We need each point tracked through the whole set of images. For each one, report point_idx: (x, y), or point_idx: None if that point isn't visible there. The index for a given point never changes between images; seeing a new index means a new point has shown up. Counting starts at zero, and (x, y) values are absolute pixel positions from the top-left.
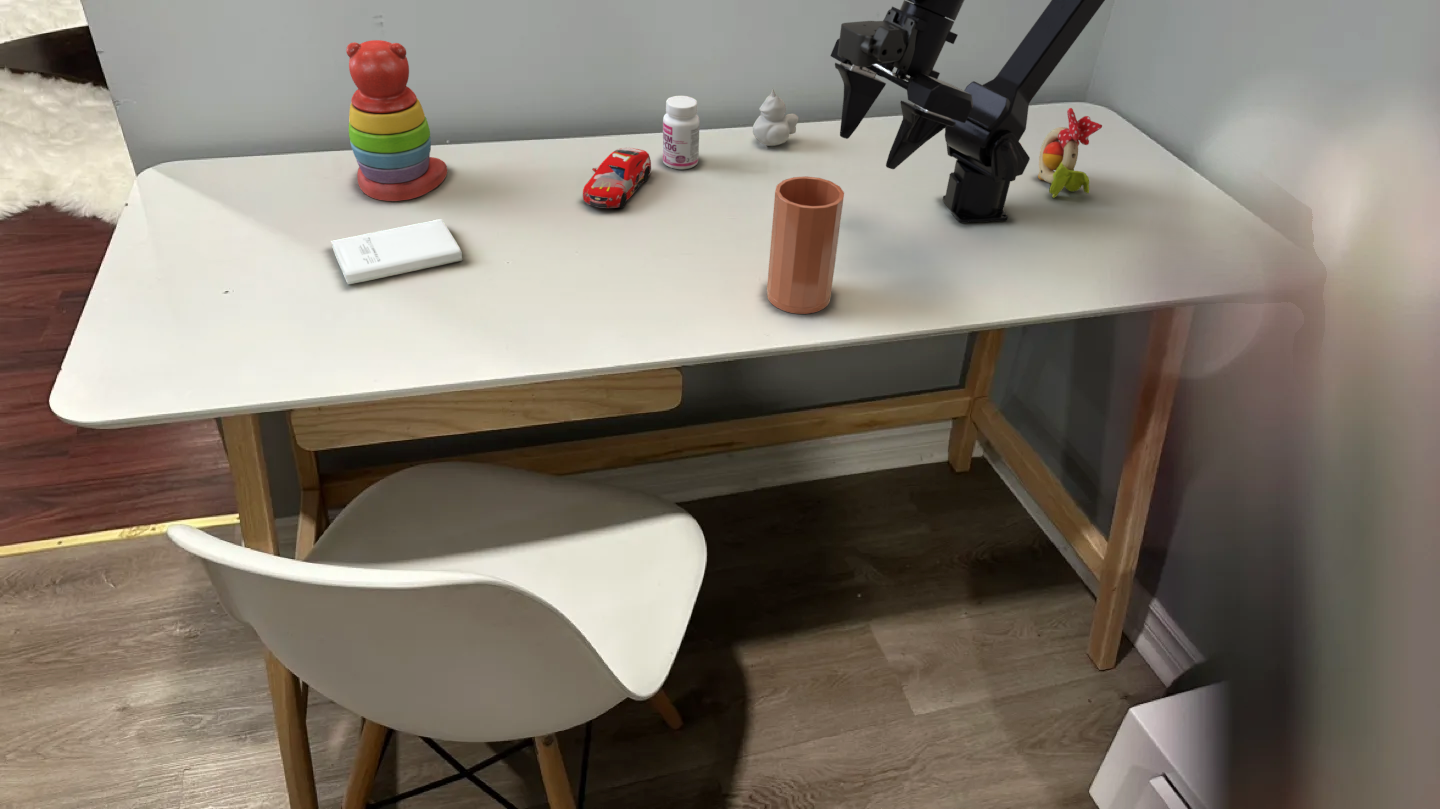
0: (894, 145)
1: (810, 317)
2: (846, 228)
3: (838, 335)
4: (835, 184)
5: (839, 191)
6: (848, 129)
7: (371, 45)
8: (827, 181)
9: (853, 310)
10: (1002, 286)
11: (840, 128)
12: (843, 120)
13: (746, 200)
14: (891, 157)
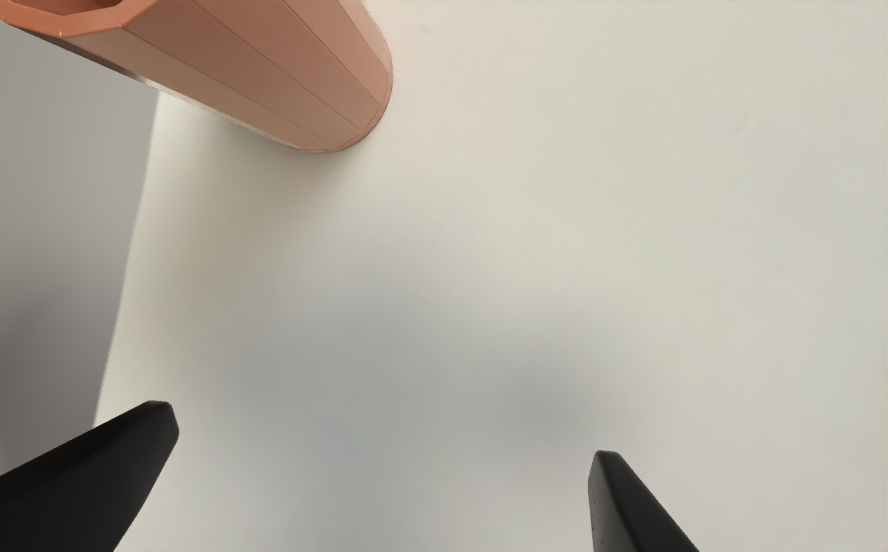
0: (35, 476)
1: None
2: (537, 379)
3: None
4: (80, 26)
5: (20, 6)
6: (602, 512)
7: None
8: (123, 6)
9: (225, 163)
10: (172, 513)
11: (638, 478)
12: (647, 520)
13: (824, 220)
14: (97, 429)
